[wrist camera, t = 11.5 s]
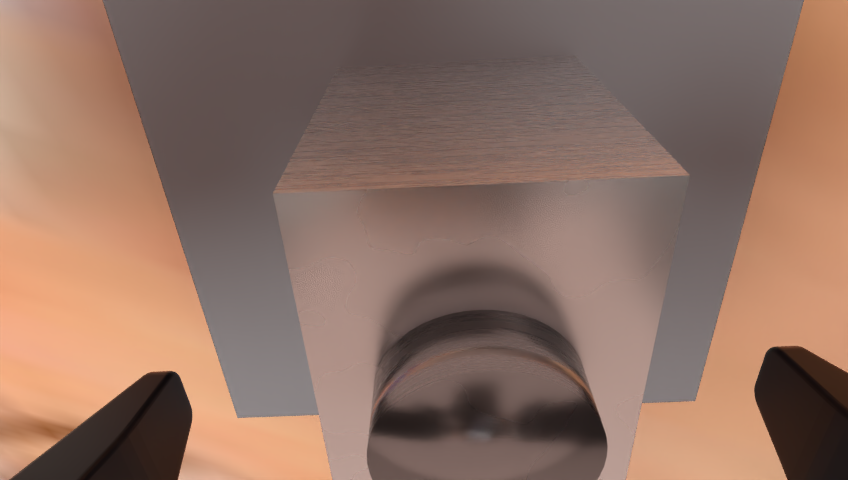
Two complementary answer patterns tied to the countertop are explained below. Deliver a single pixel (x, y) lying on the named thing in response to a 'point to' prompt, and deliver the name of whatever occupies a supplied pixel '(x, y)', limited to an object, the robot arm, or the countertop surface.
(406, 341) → the housing
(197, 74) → the stand
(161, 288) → the countertop surface
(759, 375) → the robot arm
